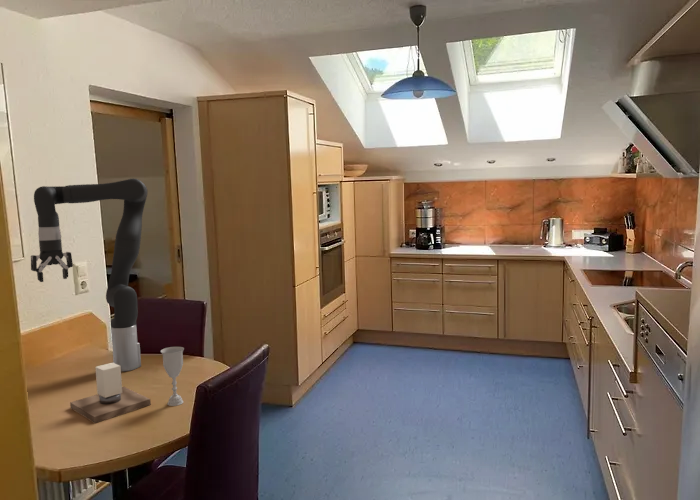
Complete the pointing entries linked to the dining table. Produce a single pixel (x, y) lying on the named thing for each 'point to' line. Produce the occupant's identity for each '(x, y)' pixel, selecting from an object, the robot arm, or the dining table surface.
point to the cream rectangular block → (108, 379)
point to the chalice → (173, 370)
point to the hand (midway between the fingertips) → (53, 280)
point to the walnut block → (109, 405)
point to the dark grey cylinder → (110, 399)
